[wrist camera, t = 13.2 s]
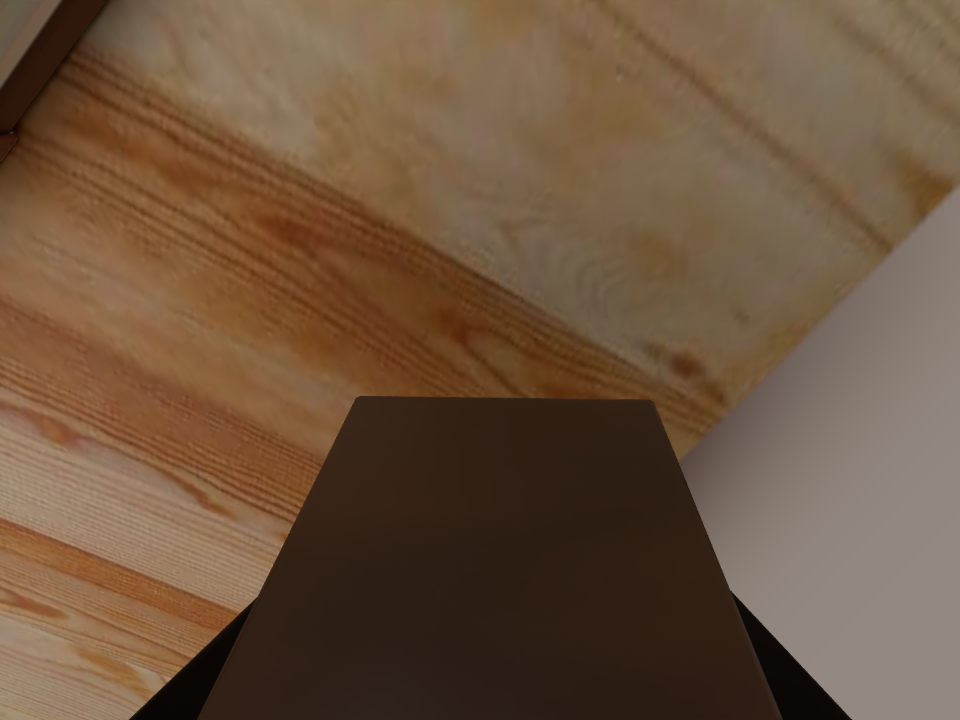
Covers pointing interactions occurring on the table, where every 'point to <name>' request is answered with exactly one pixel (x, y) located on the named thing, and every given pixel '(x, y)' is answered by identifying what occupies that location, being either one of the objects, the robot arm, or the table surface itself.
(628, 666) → the block
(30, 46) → the book
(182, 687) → the robot arm
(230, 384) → the table surface
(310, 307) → the table surface
